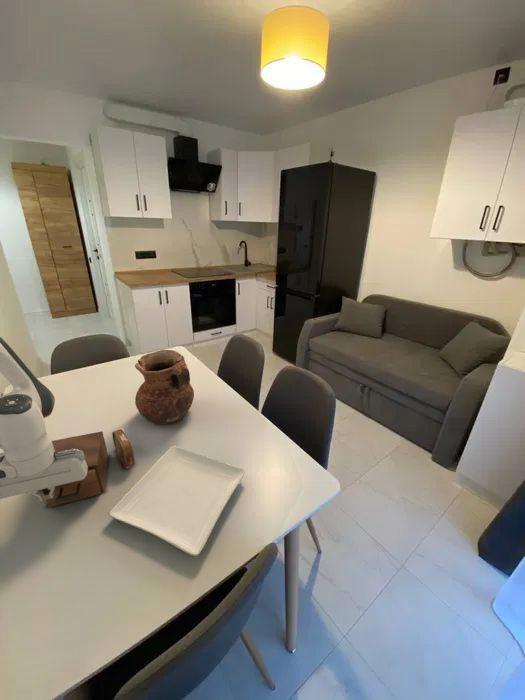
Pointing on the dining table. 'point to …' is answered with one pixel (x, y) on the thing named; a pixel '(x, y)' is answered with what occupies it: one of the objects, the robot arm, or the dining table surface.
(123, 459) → the tin
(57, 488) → the drawer
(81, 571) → the dining table surface
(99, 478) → the cabinet
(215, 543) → the dining table surface
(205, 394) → the dining table surface
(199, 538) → the square plate
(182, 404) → the jug
